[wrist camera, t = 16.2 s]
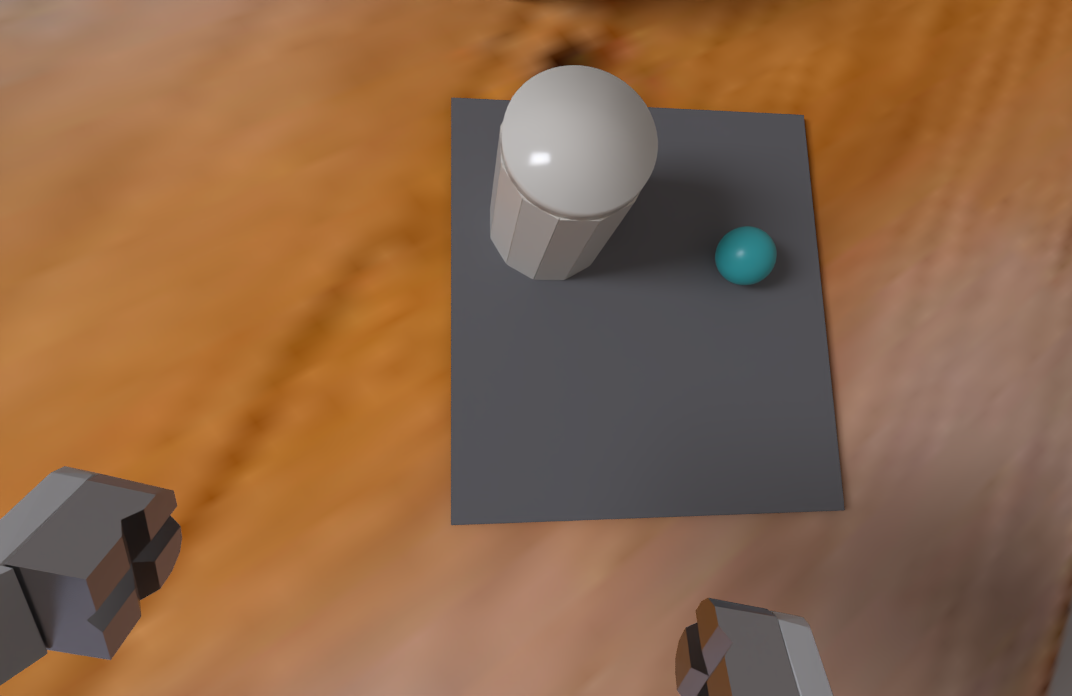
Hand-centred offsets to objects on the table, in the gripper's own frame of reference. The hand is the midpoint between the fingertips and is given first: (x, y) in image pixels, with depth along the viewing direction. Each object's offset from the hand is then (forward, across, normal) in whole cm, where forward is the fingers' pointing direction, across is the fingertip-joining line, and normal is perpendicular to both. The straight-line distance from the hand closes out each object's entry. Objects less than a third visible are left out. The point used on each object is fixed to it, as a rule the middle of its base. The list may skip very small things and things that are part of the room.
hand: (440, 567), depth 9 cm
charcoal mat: (+23, -7, +6) cm, 25 cm away
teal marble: (+24, -11, +3) cm, 26 cm away
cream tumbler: (+24, -1, +4) cm, 25 cm away
